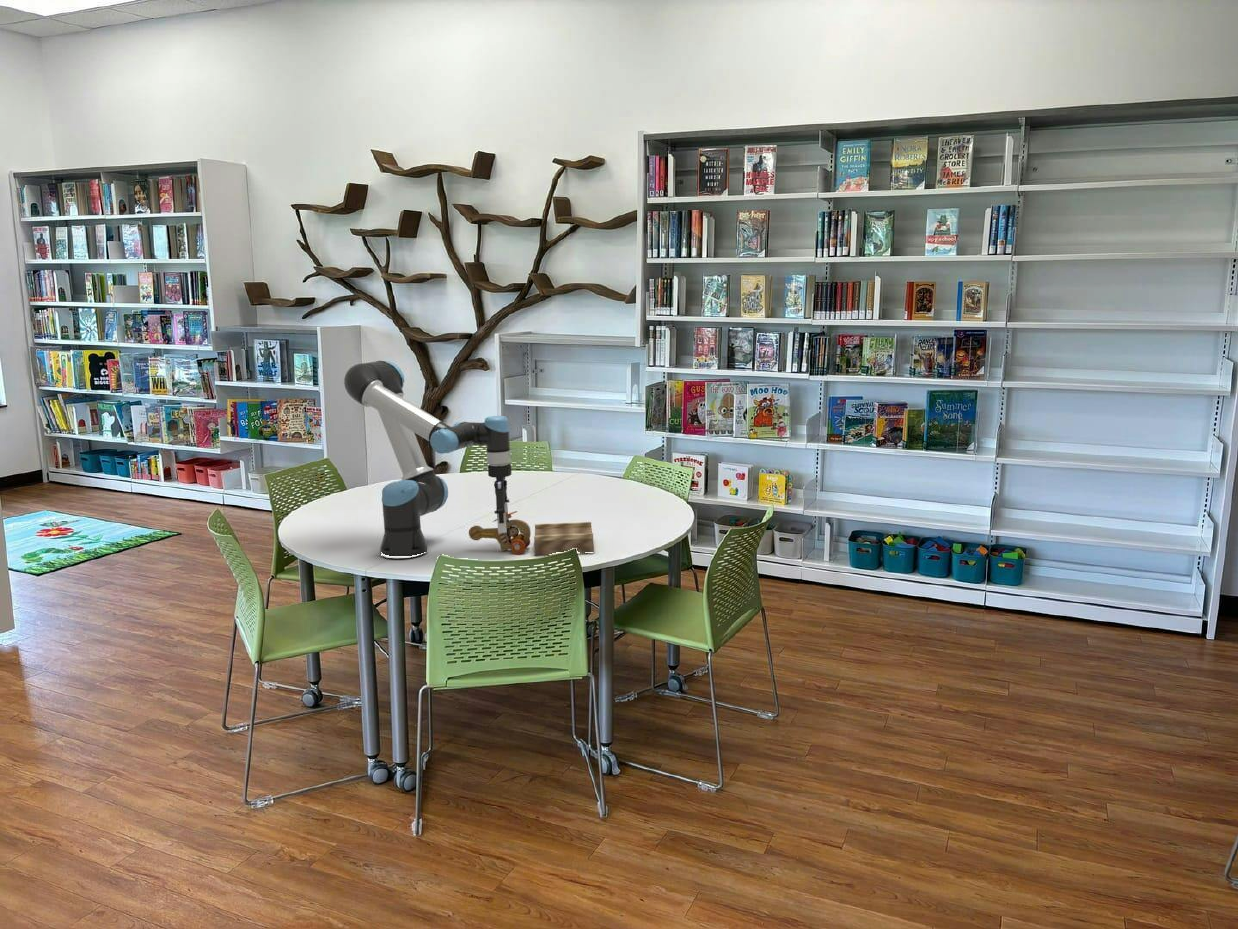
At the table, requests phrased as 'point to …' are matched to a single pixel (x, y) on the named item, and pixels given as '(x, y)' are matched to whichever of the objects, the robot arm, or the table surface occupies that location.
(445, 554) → the table surface
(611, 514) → the table surface
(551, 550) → the display stand
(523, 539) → the toy helicopter
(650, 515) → the table surface
